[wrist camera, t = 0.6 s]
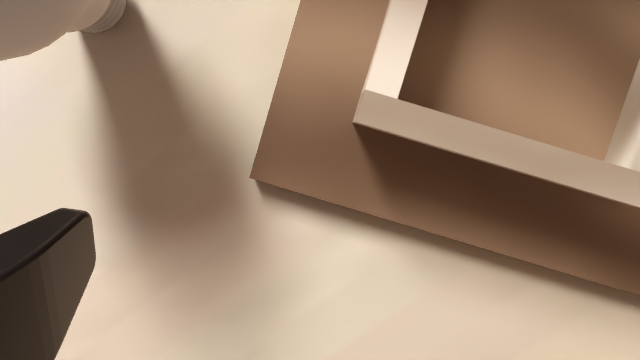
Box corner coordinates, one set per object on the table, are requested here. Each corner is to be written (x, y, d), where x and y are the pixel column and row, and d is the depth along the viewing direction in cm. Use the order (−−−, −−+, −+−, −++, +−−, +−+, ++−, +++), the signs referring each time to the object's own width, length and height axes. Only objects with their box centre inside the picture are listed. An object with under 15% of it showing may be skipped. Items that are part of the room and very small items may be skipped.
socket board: (654, 296, 22) (735, 339, 18) (253, 175, 22) (232, 188, 18) (809, -125, 21) (941, -195, 16) (377, -255, 21) (389, -360, 16)
